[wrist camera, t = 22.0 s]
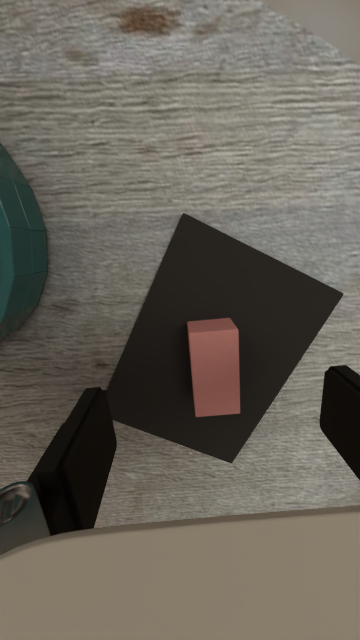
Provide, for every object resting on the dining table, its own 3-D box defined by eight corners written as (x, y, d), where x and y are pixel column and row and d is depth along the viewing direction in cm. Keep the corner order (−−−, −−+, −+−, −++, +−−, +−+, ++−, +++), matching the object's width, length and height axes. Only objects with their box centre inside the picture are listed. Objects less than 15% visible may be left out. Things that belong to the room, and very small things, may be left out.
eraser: (187, 321, 17) (188, 333, 15) (230, 317, 17) (238, 329, 15) (193, 395, 19) (195, 417, 16) (232, 392, 19) (240, 414, 16)
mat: (183, 213, 15) (183, 212, 15) (340, 292, 17) (344, 293, 17) (98, 410, 20) (96, 414, 19) (230, 459, 21) (231, 463, 21)
